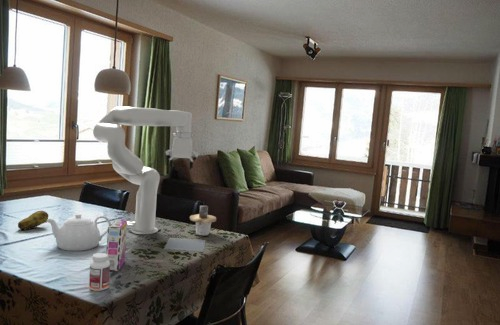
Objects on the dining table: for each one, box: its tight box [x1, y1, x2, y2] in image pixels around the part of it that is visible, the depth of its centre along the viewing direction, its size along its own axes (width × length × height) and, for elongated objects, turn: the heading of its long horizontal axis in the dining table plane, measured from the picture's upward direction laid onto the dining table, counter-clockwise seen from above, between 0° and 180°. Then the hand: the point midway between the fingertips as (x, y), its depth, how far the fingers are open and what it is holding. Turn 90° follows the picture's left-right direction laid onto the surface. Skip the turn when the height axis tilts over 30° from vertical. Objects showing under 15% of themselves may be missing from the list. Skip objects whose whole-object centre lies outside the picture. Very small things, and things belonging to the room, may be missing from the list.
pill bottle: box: [88, 252, 111, 292], centre depth 136 cm, size 6×6×11 cm
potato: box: [17, 210, 49, 230], centre depth 194 cm, size 8×13×8 cm, turn 124°
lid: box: [189, 205, 217, 224], centre depth 205 cm, size 13×13×7 cm
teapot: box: [46, 213, 112, 252], centre depth 176 cm, size 19×18×14 cm
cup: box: [195, 222, 212, 236], centre depth 205 cm, size 11×8×8 cm
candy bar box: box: [106, 219, 128, 272], centre depth 156 cm, size 11×5×16 cm, turn 5°
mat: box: [163, 237, 207, 253], centre depth 188 cm, size 17×17×1 cm
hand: (181, 168), depth 218 cm, fingers open, 9 cm apart
